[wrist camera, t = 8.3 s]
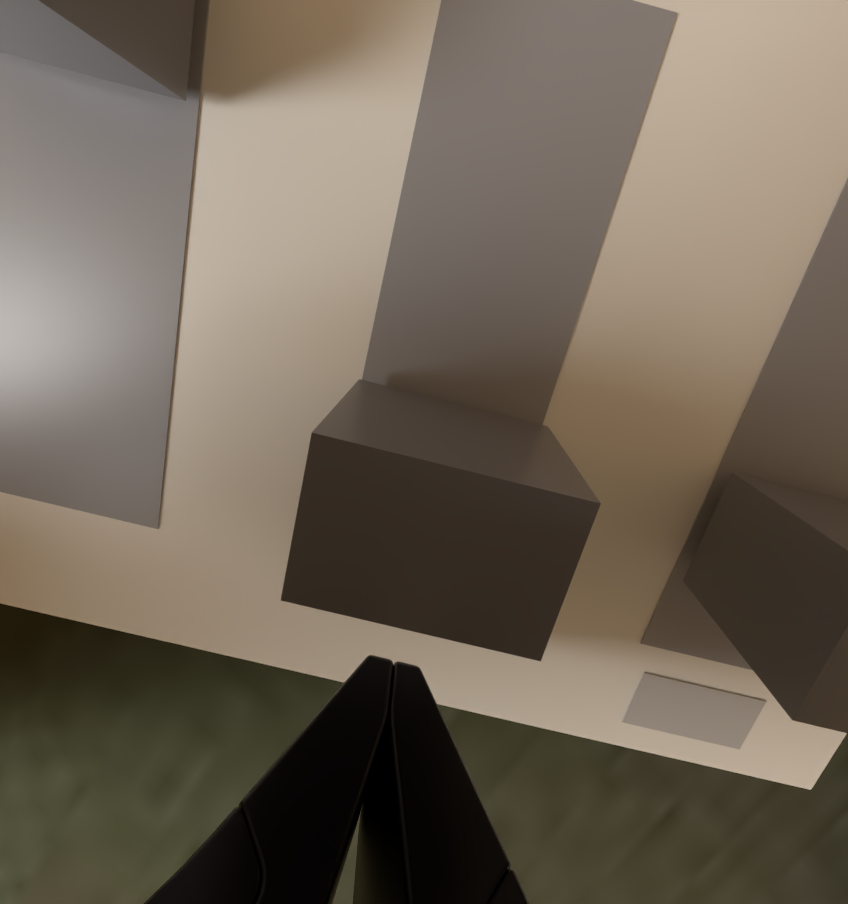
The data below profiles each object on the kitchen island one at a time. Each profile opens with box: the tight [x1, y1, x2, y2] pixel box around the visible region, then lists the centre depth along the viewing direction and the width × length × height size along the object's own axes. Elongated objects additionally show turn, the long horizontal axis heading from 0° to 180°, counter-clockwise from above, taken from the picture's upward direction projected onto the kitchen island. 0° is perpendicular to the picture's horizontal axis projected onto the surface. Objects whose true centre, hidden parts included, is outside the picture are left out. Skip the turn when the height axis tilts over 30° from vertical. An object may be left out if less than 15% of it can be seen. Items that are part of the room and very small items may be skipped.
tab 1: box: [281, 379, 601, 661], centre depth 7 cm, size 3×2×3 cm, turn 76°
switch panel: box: [0, 0, 848, 790], centre depth 9 cm, size 18×14×2 cm
